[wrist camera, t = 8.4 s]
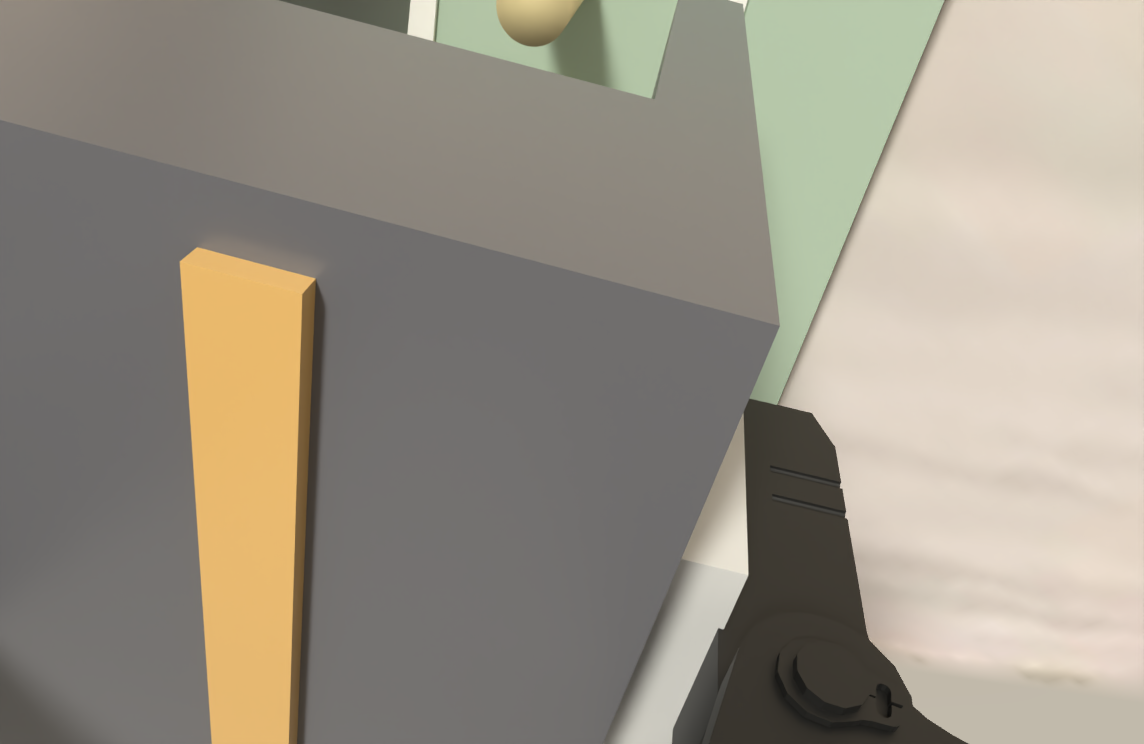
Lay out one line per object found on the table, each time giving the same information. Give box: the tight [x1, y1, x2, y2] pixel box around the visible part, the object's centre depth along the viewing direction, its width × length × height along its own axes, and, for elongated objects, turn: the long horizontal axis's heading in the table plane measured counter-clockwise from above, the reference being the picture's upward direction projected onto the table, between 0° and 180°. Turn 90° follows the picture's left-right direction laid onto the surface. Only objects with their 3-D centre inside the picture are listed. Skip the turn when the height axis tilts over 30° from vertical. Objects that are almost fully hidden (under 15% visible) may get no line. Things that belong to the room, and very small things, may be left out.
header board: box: [407, 0, 944, 405], centre depth 15 cm, size 13×12×4 cm
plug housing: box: [0, 0, 780, 744], centre depth 9 cm, size 8×5×8 cm, turn 168°
